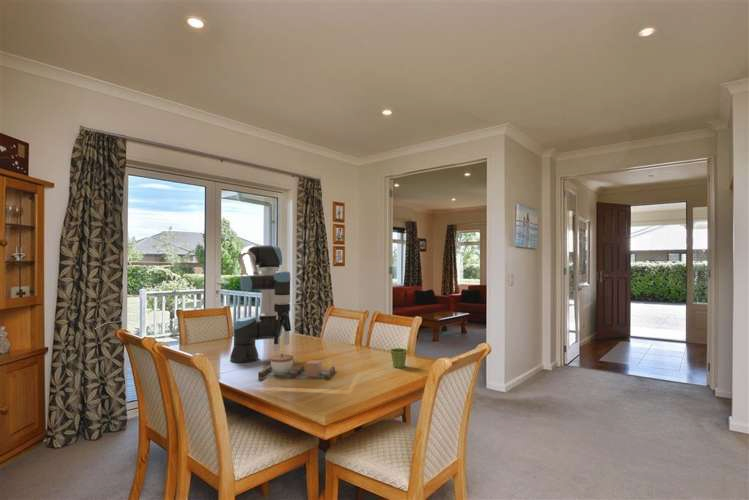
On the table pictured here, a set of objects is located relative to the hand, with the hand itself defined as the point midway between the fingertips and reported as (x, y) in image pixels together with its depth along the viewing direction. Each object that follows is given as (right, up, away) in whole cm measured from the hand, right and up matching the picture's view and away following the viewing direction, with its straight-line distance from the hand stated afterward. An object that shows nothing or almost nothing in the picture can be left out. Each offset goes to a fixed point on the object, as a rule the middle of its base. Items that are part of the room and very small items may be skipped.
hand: (281, 347), depth 198 cm
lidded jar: (0, -13, 0) cm, 13 cm away
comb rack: (+8, -14, -2) cm, 16 cm away
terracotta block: (+16, -12, -2) cm, 20 cm away
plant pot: (+58, -15, +18) cm, 62 cm away
